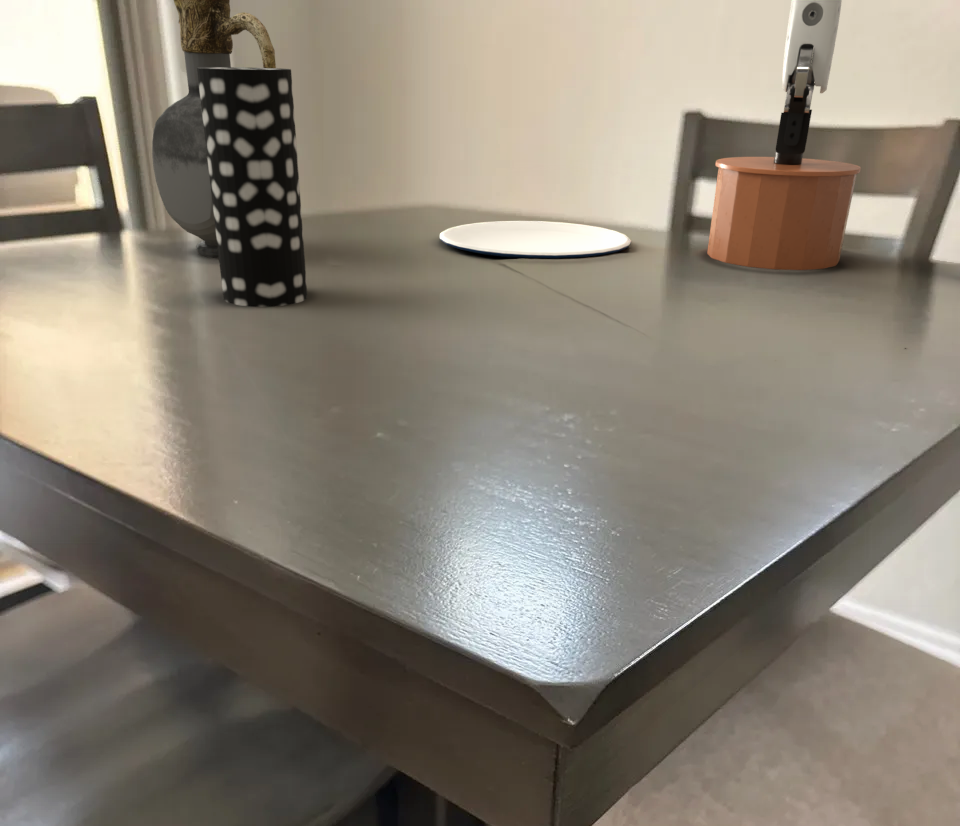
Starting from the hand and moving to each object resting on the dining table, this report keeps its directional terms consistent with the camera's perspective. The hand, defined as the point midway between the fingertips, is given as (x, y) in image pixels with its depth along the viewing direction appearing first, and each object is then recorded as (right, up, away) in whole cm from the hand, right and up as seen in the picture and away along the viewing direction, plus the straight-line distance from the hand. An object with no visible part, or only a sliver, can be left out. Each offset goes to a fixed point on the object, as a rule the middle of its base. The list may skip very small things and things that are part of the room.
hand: (790, 149), depth 114 cm
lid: (0, -2, +1) cm, 2 cm away
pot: (0, -11, +7) cm, 12 cm away
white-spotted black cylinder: (-58, -23, -16) cm, 65 cm away
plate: (-29, -6, +13) cm, 33 cm away
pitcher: (-66, -11, +4) cm, 67 cm away
